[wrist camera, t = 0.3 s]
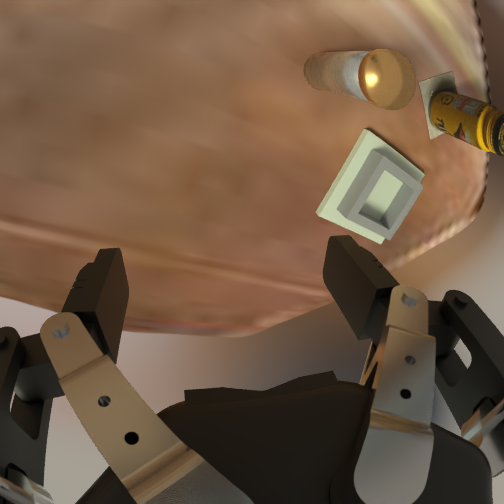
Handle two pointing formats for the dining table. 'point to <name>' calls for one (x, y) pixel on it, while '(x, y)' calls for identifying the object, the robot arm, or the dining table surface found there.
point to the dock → (372, 190)
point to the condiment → (461, 115)
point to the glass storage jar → (364, 76)
